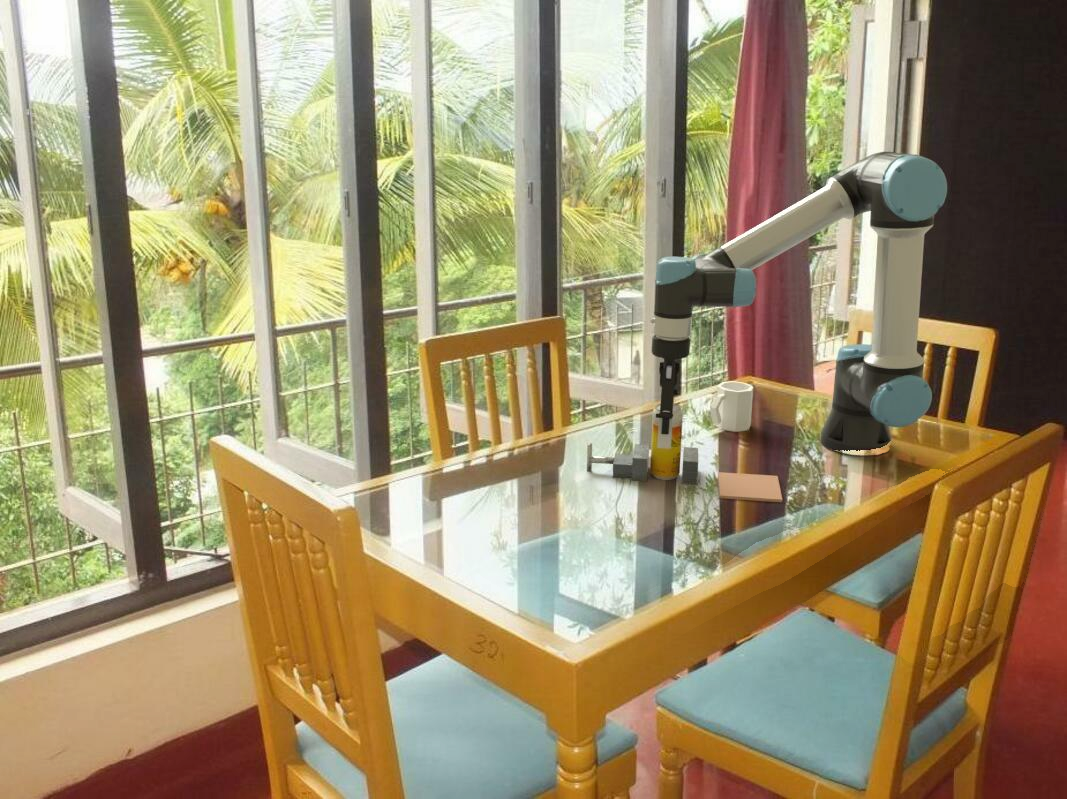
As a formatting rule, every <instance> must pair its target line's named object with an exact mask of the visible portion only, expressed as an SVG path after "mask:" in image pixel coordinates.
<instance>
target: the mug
mask: <svg viewBox="0 0 1067 799" xmlns="http://www.w3.org/2000/svg"><path fill="white" fill-rule="evenodd" d="M753 396H754V386H753V385H751V384H749V383H747V382H740V381H735V380H734V381H733V380H731V381H722V382H720V383H719V384H718V385H717V387H716V396H715V398H714V399H713V401H712V403H711V404H710V405H709V408H710V409H709V410H710V416H711V422H712V423H713V424H714V426H716V427H717V428H718V429H720V430H721V431H728V432H733V433H737V432H744V431H749V430H750V427H751V425H752V424H751V423H752V410H753V409H752V408H753Z"/></svg>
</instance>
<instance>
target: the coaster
mask: <svg viewBox="0 0 1067 799" xmlns="http://www.w3.org/2000/svg"><path fill="white" fill-rule="evenodd" d="M717 474H718V475H717V478H718V491H719V492H718V493H719V499H727V500H739V501H740V500H743V501H756V502H769V503H783V495H782V490H781V486H780V481H779V477H778V475H772V474H771V475H768V474H753V473H736V472H735V473H734V472H720V471H719V472H718V473H717Z"/></svg>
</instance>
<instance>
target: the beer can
mask: <svg viewBox="0 0 1067 799" xmlns="http://www.w3.org/2000/svg"><path fill="white" fill-rule="evenodd" d="M660 405H661V403H658V404H656V405H654V409H653V410H652V422H651V424H652V425H651V444H650V445H651V446H650V447H651V448H650V464H649V465H650V467H649V468H650V469H649V470H650V473H651V474H652V477H654V479H658V480H661V481H670V480H674V479H676V478H678V476H679V474H680V472H681V471H680V470H681V454H682V453H681V452H682V439H683V438H682V436H683V434H682V433H683V421H684V420H683V418H684V416H683V414H684V412H683V409H682V407H681V405H679V404H676V403H674V404H673V413H672V414H673V424H672V439H671V449H663V448H657V441H658V425H659V418H656V414H659V413H660ZM663 412H670V411H663Z"/></svg>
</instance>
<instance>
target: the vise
mask: <svg viewBox="0 0 1067 799" xmlns="http://www.w3.org/2000/svg"><path fill="white" fill-rule="evenodd" d="M586 450H587V451H586V472H592V468H593V467H592V466H593V464H604V465H612V478H616V479H617V478H618V479H631V481H632V482H633V481H634V482H647V481H648V472H649V470H648V469H649V458H650V444H637V443H635V444H634V448H633V453H631V454H630V453H629V454H628V453H627V454H626V453H615V454H614V457H613V456H612V457H610V456H597V455H596V456H594V455H593V443H592V442H588V443H587V448H586ZM682 453H683V454H682V467H681V468H682V472H681V475H682V476H681V484H682V485H693V486H694V485H696V486H697V485H698V471H699V447H689V446H688V447H687V446H683V452H682Z"/></svg>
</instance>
